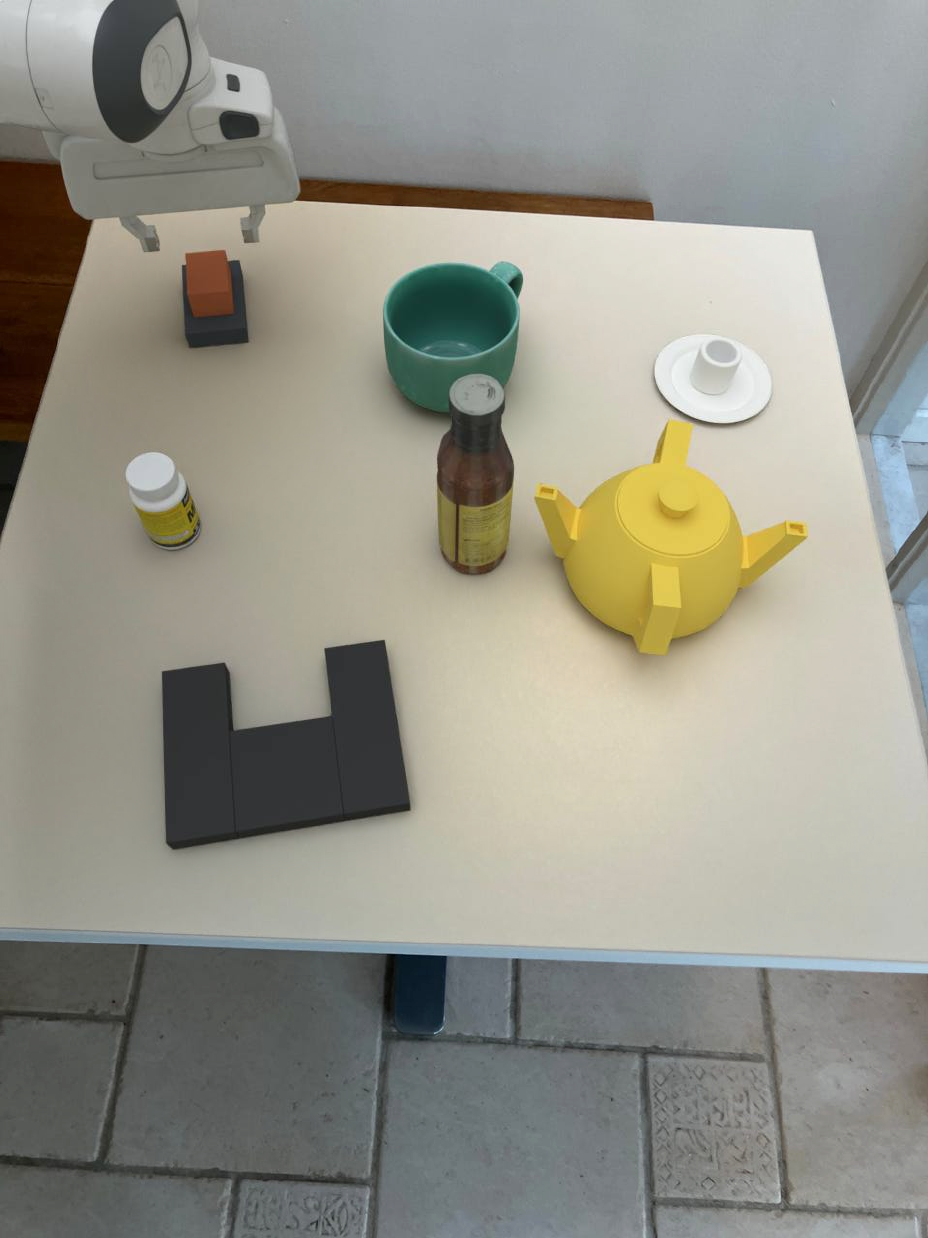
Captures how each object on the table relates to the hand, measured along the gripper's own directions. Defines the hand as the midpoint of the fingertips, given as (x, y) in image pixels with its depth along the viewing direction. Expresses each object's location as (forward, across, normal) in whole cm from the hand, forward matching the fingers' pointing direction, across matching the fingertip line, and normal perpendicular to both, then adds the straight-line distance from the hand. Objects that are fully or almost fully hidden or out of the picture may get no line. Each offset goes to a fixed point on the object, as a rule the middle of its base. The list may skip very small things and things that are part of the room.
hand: (202, 243), depth 85 cm
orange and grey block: (+8, 0, 0) cm, 8 cm away
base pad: (+8, +3, -49) cm, 50 cm away
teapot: (+9, +36, -38) cm, 53 cm away
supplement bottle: (+8, -5, -27) cm, 29 cm away
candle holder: (+9, +49, -17) cm, 52 cm away
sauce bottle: (+9, +21, -33) cm, 40 cm away
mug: (+9, +24, -12) cm, 28 cm away
